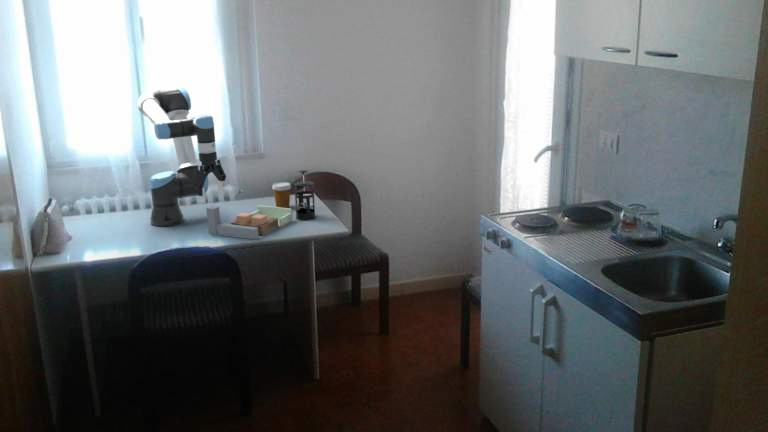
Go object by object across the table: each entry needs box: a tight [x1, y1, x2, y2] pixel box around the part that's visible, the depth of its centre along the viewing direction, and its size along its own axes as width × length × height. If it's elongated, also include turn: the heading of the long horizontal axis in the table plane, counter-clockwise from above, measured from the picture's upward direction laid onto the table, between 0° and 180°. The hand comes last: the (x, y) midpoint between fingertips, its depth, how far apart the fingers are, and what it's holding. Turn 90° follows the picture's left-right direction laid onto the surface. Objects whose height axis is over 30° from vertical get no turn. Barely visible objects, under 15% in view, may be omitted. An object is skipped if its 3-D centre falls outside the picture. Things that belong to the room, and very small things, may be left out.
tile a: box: [235, 212, 252, 223], centre depth 324 cm, size 5×5×3 cm
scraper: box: [205, 205, 260, 240], centre depth 316 cm, size 24×4×12 cm, turn 67°
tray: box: [250, 204, 293, 228], centre depth 335 cm, size 18×10×6 cm, turn 67°
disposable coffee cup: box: [271, 181, 292, 208], centre depth 357 cm, size 10×10×12 cm
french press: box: [293, 169, 317, 222], centre depth 338 cm, size 12×9×23 cm
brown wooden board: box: [230, 216, 280, 236], centre depth 325 cm, size 17×13×4 cm
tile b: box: [251, 214, 267, 225], centre depth 321 cm, size 5×5×3 cm
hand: (212, 198), depth 317 cm, fingers open, 13 cm apart
